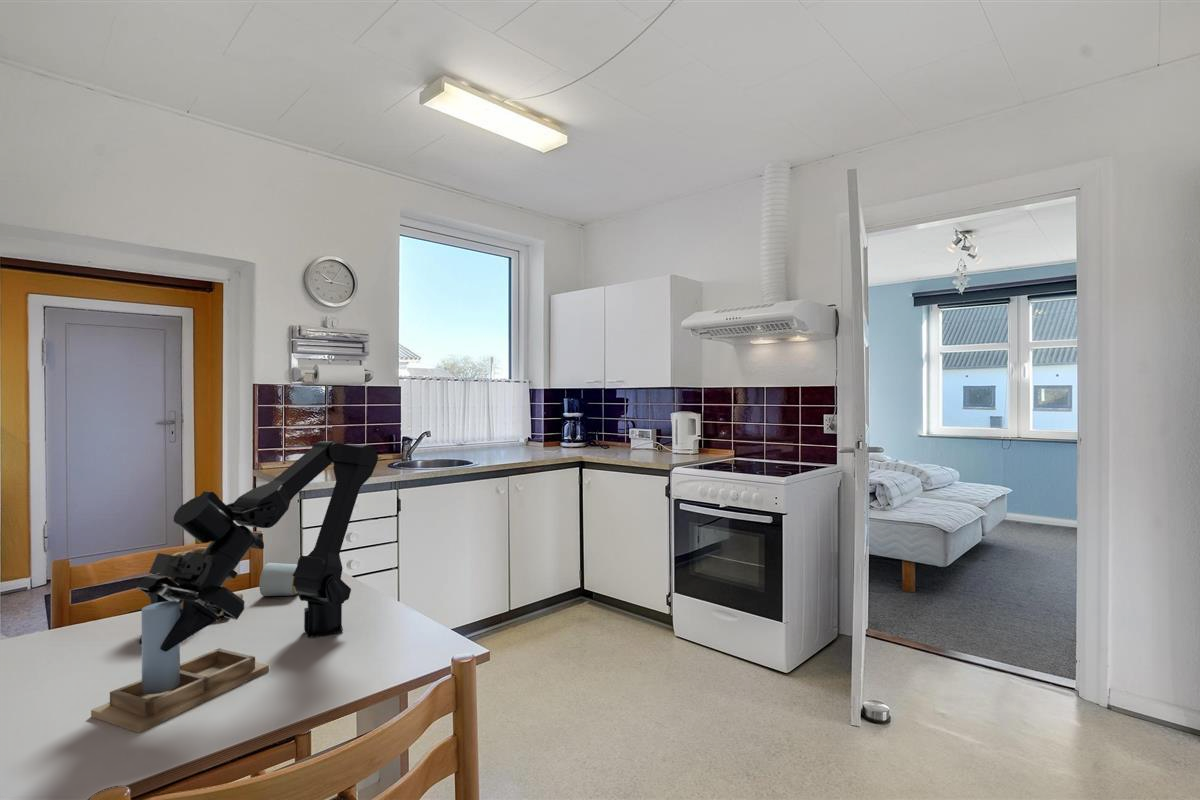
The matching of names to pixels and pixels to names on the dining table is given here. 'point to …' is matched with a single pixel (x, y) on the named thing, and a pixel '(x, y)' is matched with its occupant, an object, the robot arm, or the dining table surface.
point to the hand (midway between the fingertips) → (151, 647)
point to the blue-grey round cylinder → (157, 663)
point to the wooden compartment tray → (179, 690)
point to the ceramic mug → (277, 580)
